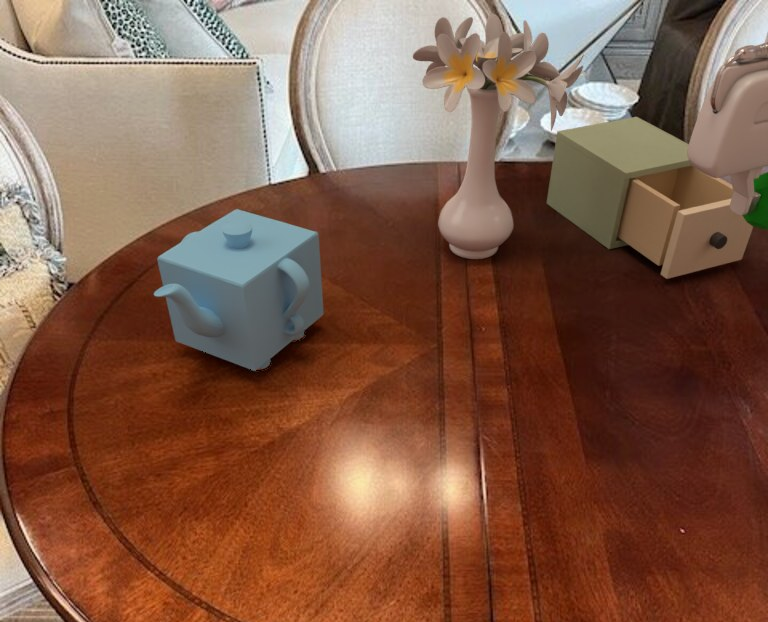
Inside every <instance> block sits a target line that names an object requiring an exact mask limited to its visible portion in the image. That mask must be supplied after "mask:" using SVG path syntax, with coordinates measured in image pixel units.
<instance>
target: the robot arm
mask: <svg viewBox="0 0 768 622" xmlns="http://www.w3.org/2000/svg"><path fill="white" fill-rule="evenodd" d="M688 144H689V146H688V150H687V156H688V159H689V162H690V164H691V165H692V166H693V167H694V168H696V169H697V170H699V171H701V172H703V173H705V174H707V175H709V176H711V177H714V178H723V177H727V176H729V177H730V182H731V185H732V186H733V190H734V193H733V196H732V199H731V203H730V210H731V211H732V212H734V213H736V214H737V215H739V216H742V215H746V214H749V213H753V212H755V211H756V209H757V204H758V202H759V200H760V197H761V194H759V193H757V192H755V191H754V179H756V178H759V177H760V175H762V174H761V173H762V171H763V168H764V167H768V32H767V33H766V36H765V40H764V42H763V43H761V44H756V45H754V44H749V45H744V46H741V47H739V48H738V49H736V51H735V52H734V54H733V55H732V56H730V57H729V58H728V59H727V60H726V61H725V62H724V64H722V65H720V67H719V68H718V69H717V72H716V74H715V77H714V80H713V81H712V83H711V85H710V87H709V88H708V91H707V93H706V95H705V97H704V100H703V103H702V105H701V107H700V110H699V113H698V116H697V119H696V121H695V124H694V127H693V130H692V133H691V136H690V139H689V143H688Z"/></svg>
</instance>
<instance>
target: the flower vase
mask: <svg viewBox="0 0 768 622" xmlns="http://www.w3.org/2000/svg"><path fill="white" fill-rule="evenodd" d="M473 23H474V18H473V17H472V16H469V17H466V18H465V19H464V20H463V21H462V22H461V23H460V24H459V25H458V26H457V28H456V30H455V33H454V32H453V31H454V30H453V27H452V25H451V22H450V21H449V19H448V18H446V17H443V16H442V17H440V18H439V19H438V20H437V21H436V23H435V26H434V39H435V42H436V44H435V45H433V44H431V45H429V44H428V45H424V46H421V47H420V48H418V49H417V50H415V51H414V52H413V54H412V59H413V60H415V61H417V62H431V63H430V64H428V67H427V68H426V70H425V75H424V76H423V77H422V86H423V87H424V88H426V89H428V90H438V89H442V88H446V89H445V92H444V97H443V107H444V109H445V111H446V112H447V113H452V112H454V110H456V108H457V106H458V105H459V102H460V101H461V98H462V94H463V91H464V89H465V88H466V92H467V93H468V96H469V103H470V118H471V119H470V120H471V121H470V122H471V123H470V136H469V145H468V155H467V163H466V167H465V173H464V177H463V180H462V182H461V184H460V186H459V188H458V190H457V191H456V193H455V194H454V195H453V196H452V197H451V198H449V199H448V200H447V201H446V203H445V204H444V205H443V206H442V208H441V210H440V212H439V215H438V220H437V221H438V222H437V227H438V228H437V229H438V230H439V232H440V234H441V236H442V238H443V239H444V240H445V241H446V242H447V243H448V247H449V249H450V251H451V252H452V253H453V254H455V255H456V256H458V257H461V258H463V259H467V260H483V259H488V258H490V257H492V256H494V255H496V253H497V252H498V250H499V246H501V245H503V244H504V243H505V242H506V241H507V240H509V237H510V236H511V234H512V233H513V230H514V215H513V212H512V210H511V208H510V207H509V205H508V203H507V202H506V201H505V200H504V198H503V197H502V196H501V194H500V191H499V189H498V185H497V182H496V181H497V180H496V173H495V164H496V163H495V161H496V160H495V159H496V146H497V144H496V143H497V133H498V125H499V119H500V115H501V111H502V112H504V113H506V112H508V111H509V110H510V109H511V107H512V103H513V96H514V97H516V98H517V99H519V100H520V101H521V102H523V103H525V104H526V105H534V104H535V102H536V101H537V97H536V93H535V91H534V89H533V87H532V86H531V85H530V84H529V83H528V82H527V81H531V82H534V83H535V82H536V83H539V84H541V85H543V86H544V87H546V88H547V91H548V98H549V104H550V105H549V107H550V131H551V132H552V131H553V129H554V126H555V123H556V119H557V112H558V115H559V117H562V116H564V113H565V112H566V109H567V105H568V93H567V91H566V89H569V88H570V87H572V86H573V85H574V84H575V83H576V82H577V80H578V79H579V77H580V75H581V74H582V72H583V70H584V65H580V64H581V63H582V60H583V58H584V56H585V54H582V55H581V56H580V57H579V58H578V59H577V60H576V61H575V62H574V63H572V64H571V65H570V66H569V67H568V68H567V69H566V70H564V71H563V72H562V73H560V72H559V70H558V69H557V67H555V66H554V65H553V64H551V63H550V62H548V61H543V60H544V59H545V58H546V56H547V54H548V52H549V45H550V44H549V38H548V36H547V34H546V33H545V32H543V31H542V32H540V33H539V34H538V35H537V36H536V37H535V39H534V41H533V34H532V30H531V27H530V25H529V23H528V21H527V19H524V20H523V23H522V24H523V26H522V27H523V32H519V33H515V34H512V35H510V36H509V34H508V33H507V32H506V31H504V29H503V24H502V22H501V19H500V17H499V16H498V15H497V14H495V13H492V14H490V15H489V16H488V18H487V20H486V23H485V32H484V33H485V42H484V41H483V40H482V39H481V36H480V35H479V34H478V32H477V33H476V32H474V33H472V34H470V35H469V36H468V37H467V35H468V33H469V32H470V29H471V27H472V25H473ZM578 66H579V67H578ZM527 74H529V75H527ZM548 79H549V80H548Z"/></svg>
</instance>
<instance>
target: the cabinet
mask: <svg viewBox="0 0 768 622" xmlns="http://www.w3.org/2000/svg"><path fill="white" fill-rule="evenodd" d="M688 146H689V143H687V142H685V141H684V140H681V139H679V138H678V137H676V136H674V135H672V134H670V133H668V132H666V131H664V130H662V129H661V128H659V127H657V126H655V125H653V124H651V123H650V122H648V121H645V120H644V119H642V118H640V117H638V116H633V117H627V118H621V119H616V120H610V121H606V122H600V123H595V124H588V125H584V126H578V127H572V128H568V129H562V130H557V131H556V138H555V144H554V150H553V156H552V163H551V171H550V176H549V177H550V178H549V185H548V191H547V198H546V205H548V206H549V207H550V208H551V209H553V210H555V211H556V212H557V213H559V214H560V215H561V216H563V217H564V218H566V219H567V220H568V221H569V222H571V223H572V224H574V225H575V226H576V227H578V228H579V229H580V230H582V231H583V232H585V233H586V234H587V235H589V236H590V237H591V238H593V239H594V240H595V241H597V242H598V243H600V244H601V245H603V246H604V247H605V248H606V249H608V250H612V249H616V248H617V249H618V248H620V247H625V246H629V245H628V244H627V243H625V242H624V241H623V240H621V239H620V238H618V237H617V234H618V229H619V225H620V220H621V216H622V211H623V207H624V202H625V198H626V193H627V189H628V184H629V180H630V178H635V177H640V176H644V175H649V174H654V173H659V172H664V171H668V170H673V169H678V168H683V167H687V166H692V165H691V164H690V162H689V159H688V156H687V150H688Z"/></svg>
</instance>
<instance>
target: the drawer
mask: <svg viewBox="0 0 768 622" xmlns="http://www.w3.org/2000/svg"><path fill="white" fill-rule="evenodd" d="M733 193H734V190H733V186H732V183H729V182H728V181H726V180H724V179H722V178H721V177H719V178H714V177H711V176H709V175H707V174H705V173H703V172H701V171H699V170H697V169H696V168H694V167H693V166H687V167H683V168H678V169H673V170H668V171H664V172H659V173H654V174H649V175H644V176H640V177H635V178H630V180H629V184H628V189H627V193H626V198H625V202H624V207H623V211H622V216H621V220H620V225H619V229H618V234H617V237H618V238H620V239H621V240H623V241H624V242H625V243H627V244H628V245H627V246H629V247H631V248H632V249H634V250H635V251H637V252H638V253H640V254H641V255H642V256H644V257H645V258H646V259H648V260H650V261H651V262H652V263H654V264H655V265H657V266H658V267H660V266H662V267H661V271H660V276H662V277H663V278H665V279H666V280H668V279H671V278H676V277H680V276H683V275H687V274H691V273H695V272H699V271H702V270H707V269H710V268H714V267H718V266H722V265H727V264H729V263H733V262H738V261H741V260H743V257H744V254H745V252H746V249H747V246H748V243H749V240H750V238H751V235H752V232H753V229H754V227H753V226H752V225H750V224H749V223H747V222H746V220H745V219H744V217H743V216H739V215H737V214H736V213H734V212H732V211H731V210H730V203H731V199H732V196H733Z"/></svg>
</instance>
